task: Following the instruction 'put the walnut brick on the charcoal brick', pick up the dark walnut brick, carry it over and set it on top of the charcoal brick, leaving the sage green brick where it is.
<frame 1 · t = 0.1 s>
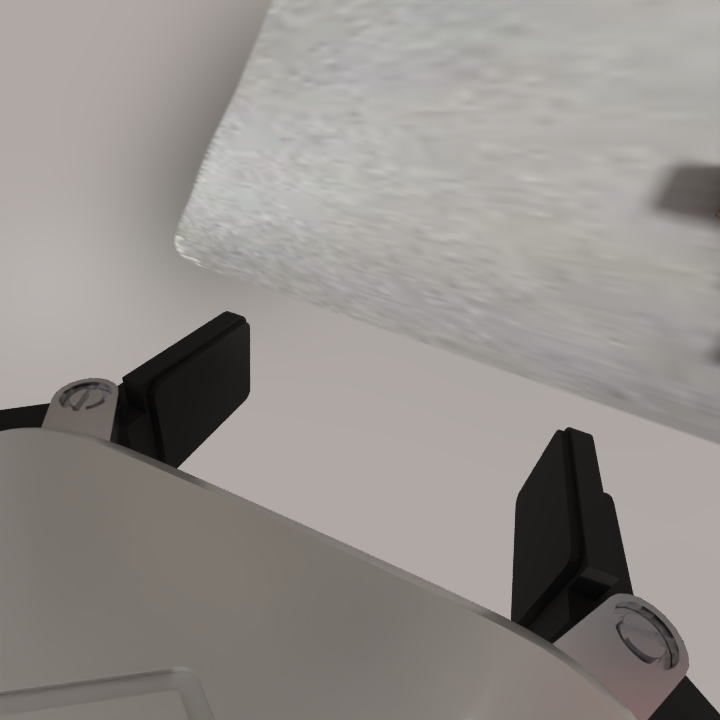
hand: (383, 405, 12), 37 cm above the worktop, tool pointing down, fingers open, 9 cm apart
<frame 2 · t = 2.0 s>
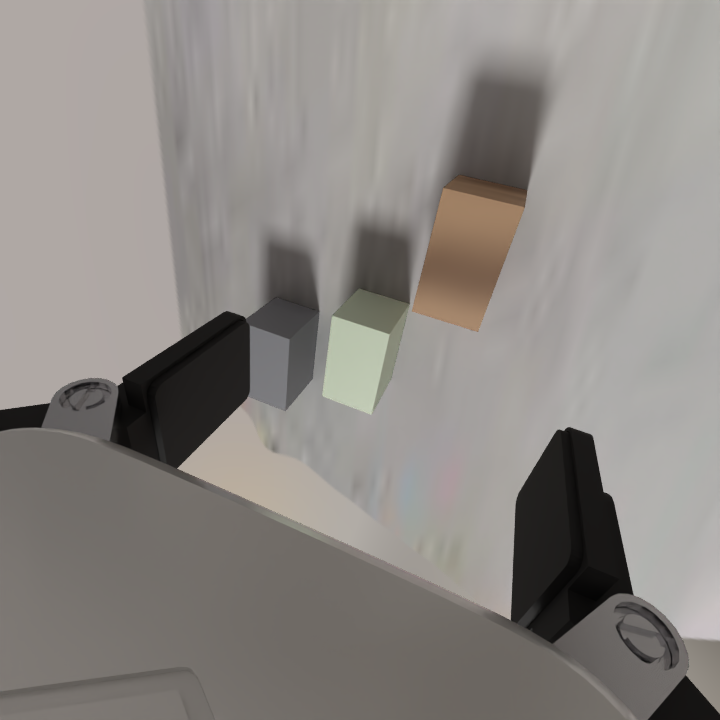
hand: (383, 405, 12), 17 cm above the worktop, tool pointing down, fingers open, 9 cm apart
sage brick: (376, 335, 32), on the worktop
walnut brick: (474, 240, 25), on the worktop
charcoal brick: (295, 339, 35), on the worktop
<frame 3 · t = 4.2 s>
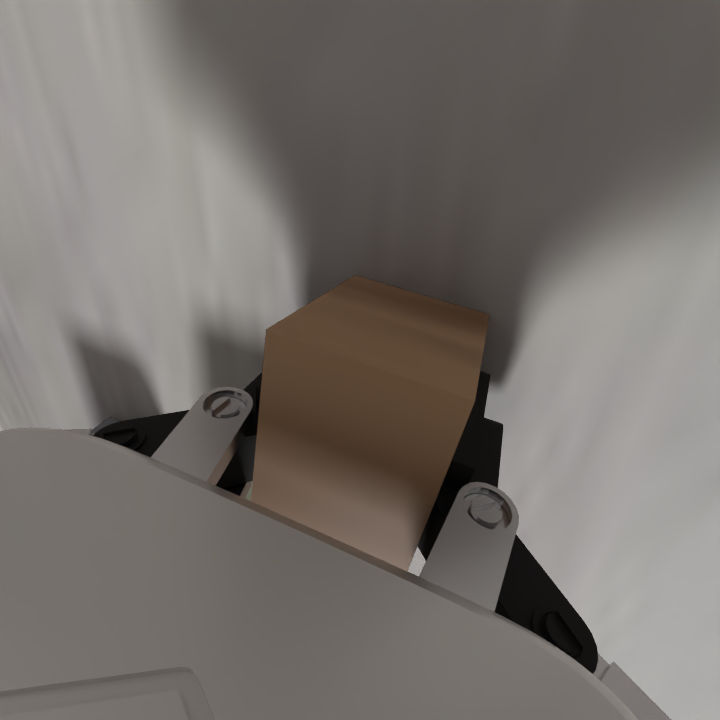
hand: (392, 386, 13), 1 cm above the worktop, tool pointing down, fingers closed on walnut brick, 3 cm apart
walnut brick: (392, 394, 13), on the worktop, tilted 7°, touching gripper
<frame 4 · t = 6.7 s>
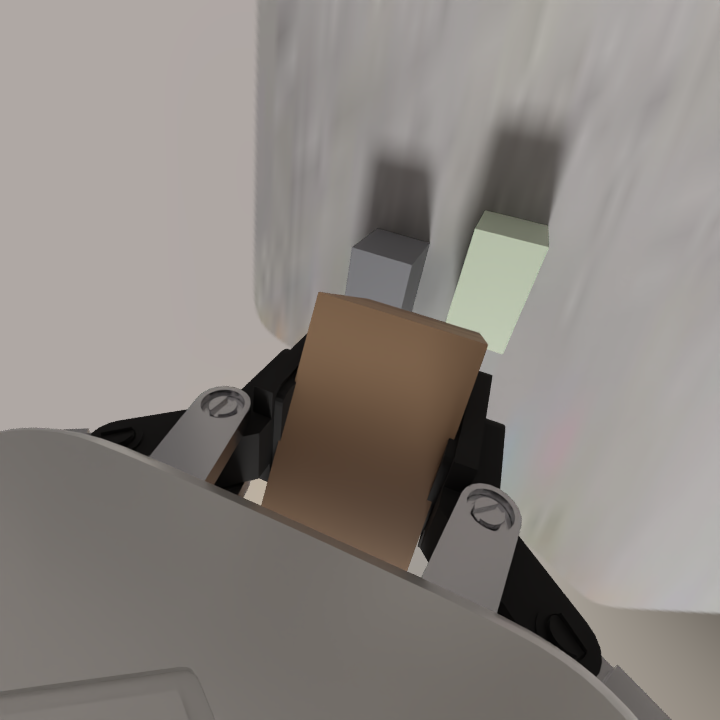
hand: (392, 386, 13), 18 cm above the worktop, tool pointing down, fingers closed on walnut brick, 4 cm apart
sage brick: (497, 268, 28), on the worktop
walnut brick: (392, 408, 14), point 17 cm above the worktop, tilted 25°, touching gripper
charcoal brick: (393, 279, 31), on the worktop
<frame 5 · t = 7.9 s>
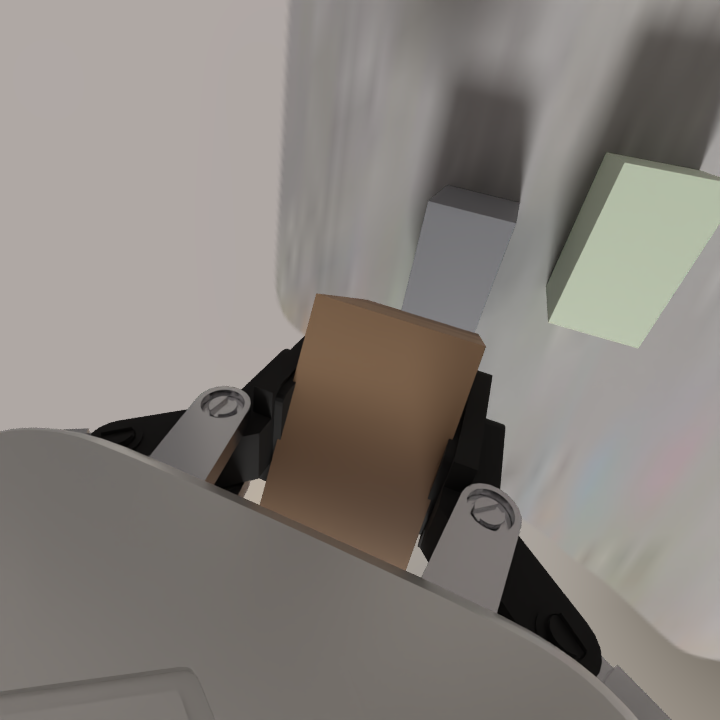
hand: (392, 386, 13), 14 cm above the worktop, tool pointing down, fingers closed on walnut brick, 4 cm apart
sage brick: (613, 234, 21), on the worktop
walnut brick: (390, 409, 14), point 13 cm above the worktop, tilted 25°, touching gripper
charcoal brick: (463, 254, 24), on the worktop
when the fingers open (7 cm above the worktop, at t = 9.4 s): walnut brick stays where it is, resting on charcoal brick.
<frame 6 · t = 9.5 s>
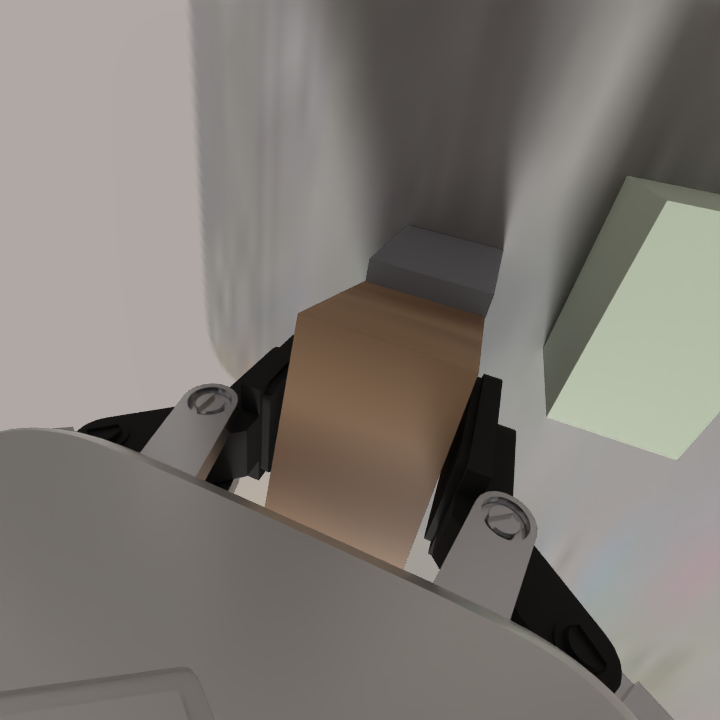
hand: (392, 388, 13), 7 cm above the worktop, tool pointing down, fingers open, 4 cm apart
sage brick: (634, 286, 15), on the worktop
walnut brick: (395, 392, 14), point 6 cm above the worktop, tilted 12°, touching charcoal brick
charcoal brick: (432, 311, 18), on the worktop, touching walnut brick
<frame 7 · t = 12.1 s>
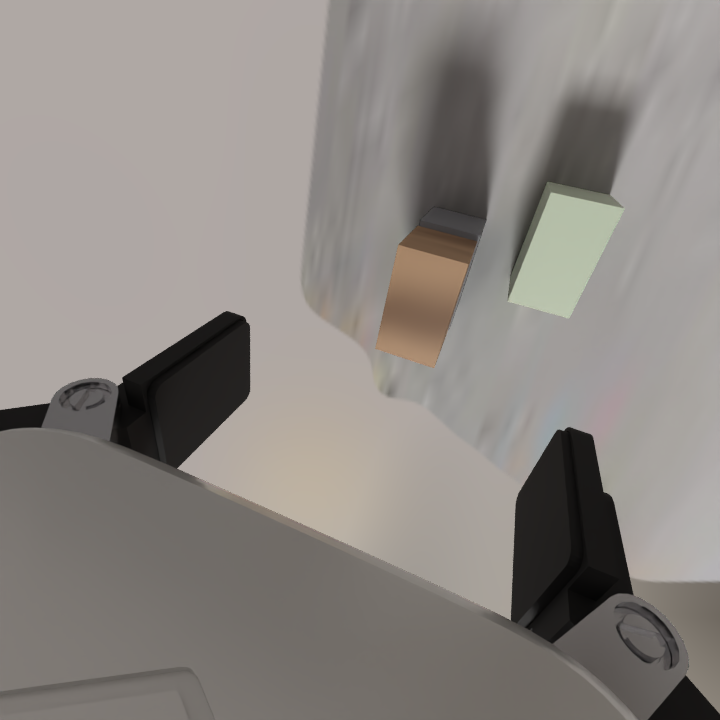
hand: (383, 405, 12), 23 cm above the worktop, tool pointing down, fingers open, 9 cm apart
sage brick: (555, 239, 29), on the worktop
walnut brick: (432, 282, 28), point 5 cm above the worktop, touching charcoal brick
charcoal brick: (446, 257, 32), on the worktop, touching walnut brick
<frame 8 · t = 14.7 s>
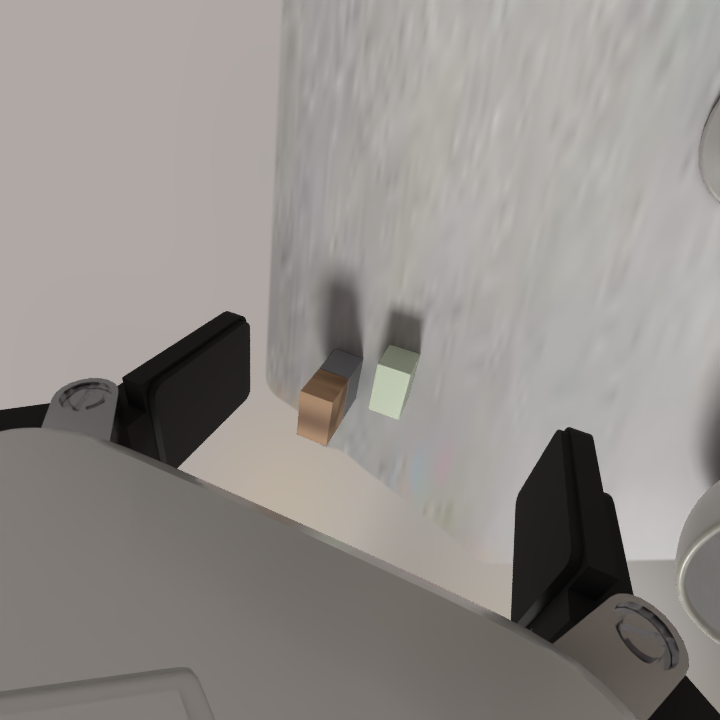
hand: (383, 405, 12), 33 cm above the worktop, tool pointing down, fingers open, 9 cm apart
sage brick: (399, 371, 52), on the worktop
walnut brick: (330, 395, 51), point 5 cm above the worktop, touching charcoal brick
charcoal brick: (345, 374, 55), on the worktop, touching walnut brick
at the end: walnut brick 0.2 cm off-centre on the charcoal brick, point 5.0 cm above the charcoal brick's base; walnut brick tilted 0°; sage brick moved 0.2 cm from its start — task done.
